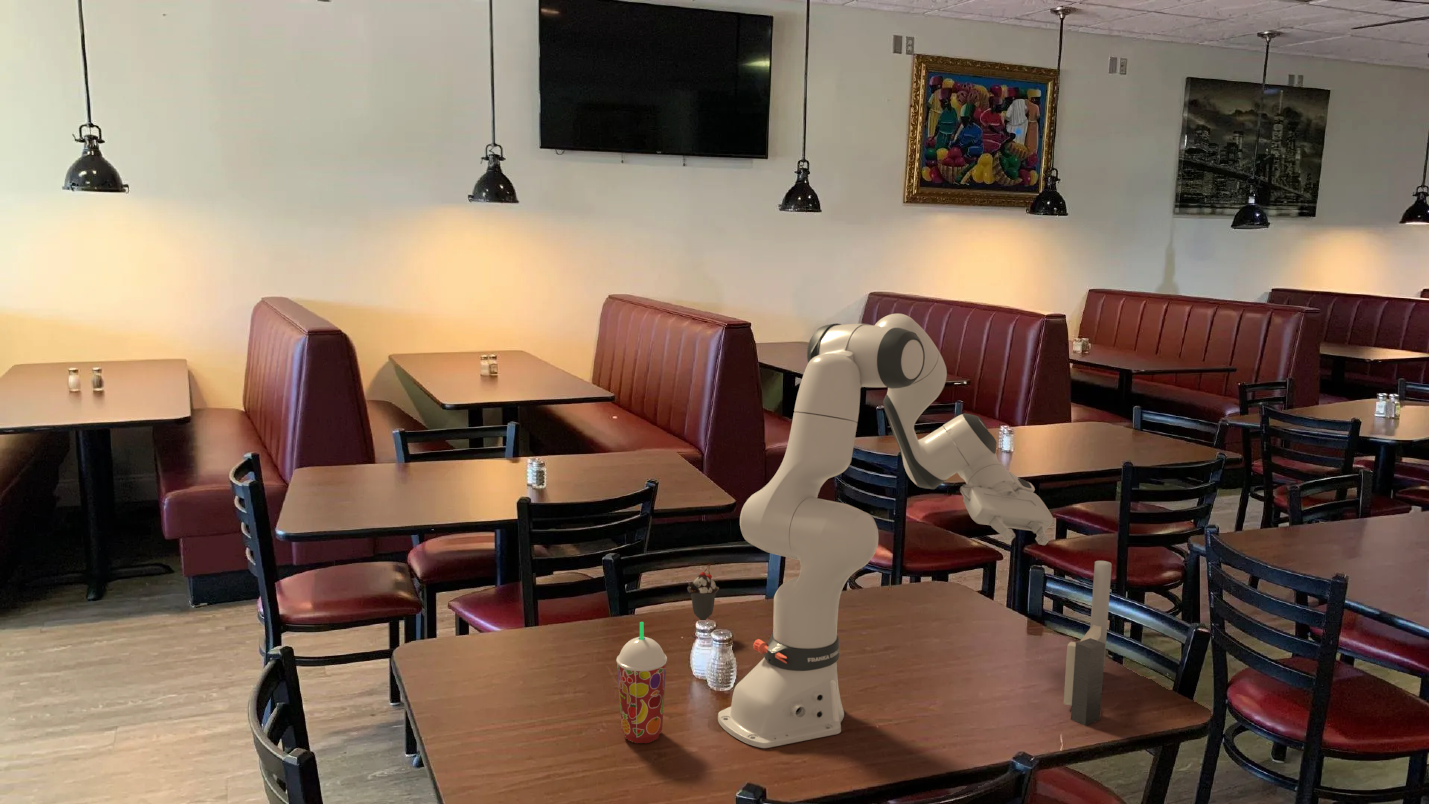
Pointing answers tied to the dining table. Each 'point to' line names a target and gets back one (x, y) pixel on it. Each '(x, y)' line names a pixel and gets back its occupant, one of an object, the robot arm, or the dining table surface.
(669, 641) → the dining table surface
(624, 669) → the smoothie
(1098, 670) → the hinge post
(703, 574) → the sundae
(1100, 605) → the gate
